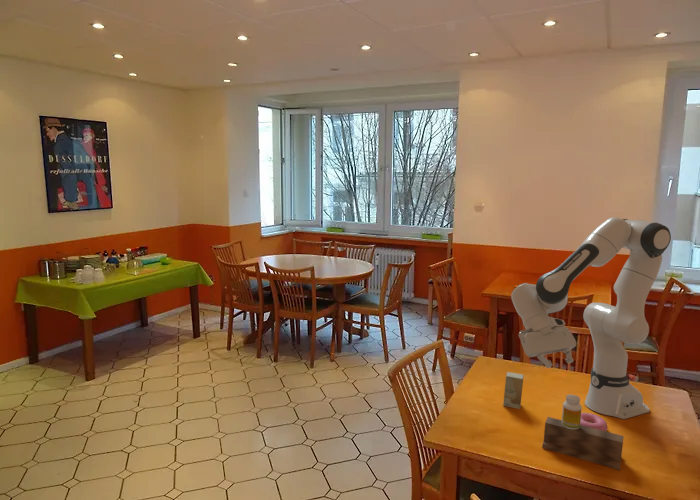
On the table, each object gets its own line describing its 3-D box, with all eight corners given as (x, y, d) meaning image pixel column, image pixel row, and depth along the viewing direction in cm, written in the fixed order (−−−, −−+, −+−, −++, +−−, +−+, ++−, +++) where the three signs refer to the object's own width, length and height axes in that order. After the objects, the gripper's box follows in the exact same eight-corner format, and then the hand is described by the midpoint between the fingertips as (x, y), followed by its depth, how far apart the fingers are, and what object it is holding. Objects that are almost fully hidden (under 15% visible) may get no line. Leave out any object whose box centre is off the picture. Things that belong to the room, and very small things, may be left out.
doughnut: (588, 439, 162) (589, 428, 162) (565, 423, 173) (566, 412, 172) (614, 435, 165) (615, 423, 165) (590, 419, 176) (591, 408, 175)
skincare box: (503, 406, 184) (505, 375, 182) (504, 401, 188) (506, 371, 186) (520, 409, 182) (523, 378, 180) (521, 404, 186) (523, 374, 184)
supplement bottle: (582, 430, 152) (584, 401, 150) (563, 429, 153) (566, 400, 151) (577, 422, 157) (579, 394, 156) (559, 420, 158) (561, 392, 157)
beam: (542, 447, 157) (544, 424, 155) (546, 436, 164) (548, 414, 162) (619, 470, 145) (622, 445, 144) (621, 457, 152) (623, 433, 151)
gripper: (521, 326, 161) (542, 365, 154) (567, 319, 169) (588, 356, 162) (511, 335, 166) (530, 373, 159) (556, 328, 174) (576, 363, 167)
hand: (560, 364), depth 160 cm, fingers open, 8 cm apart
